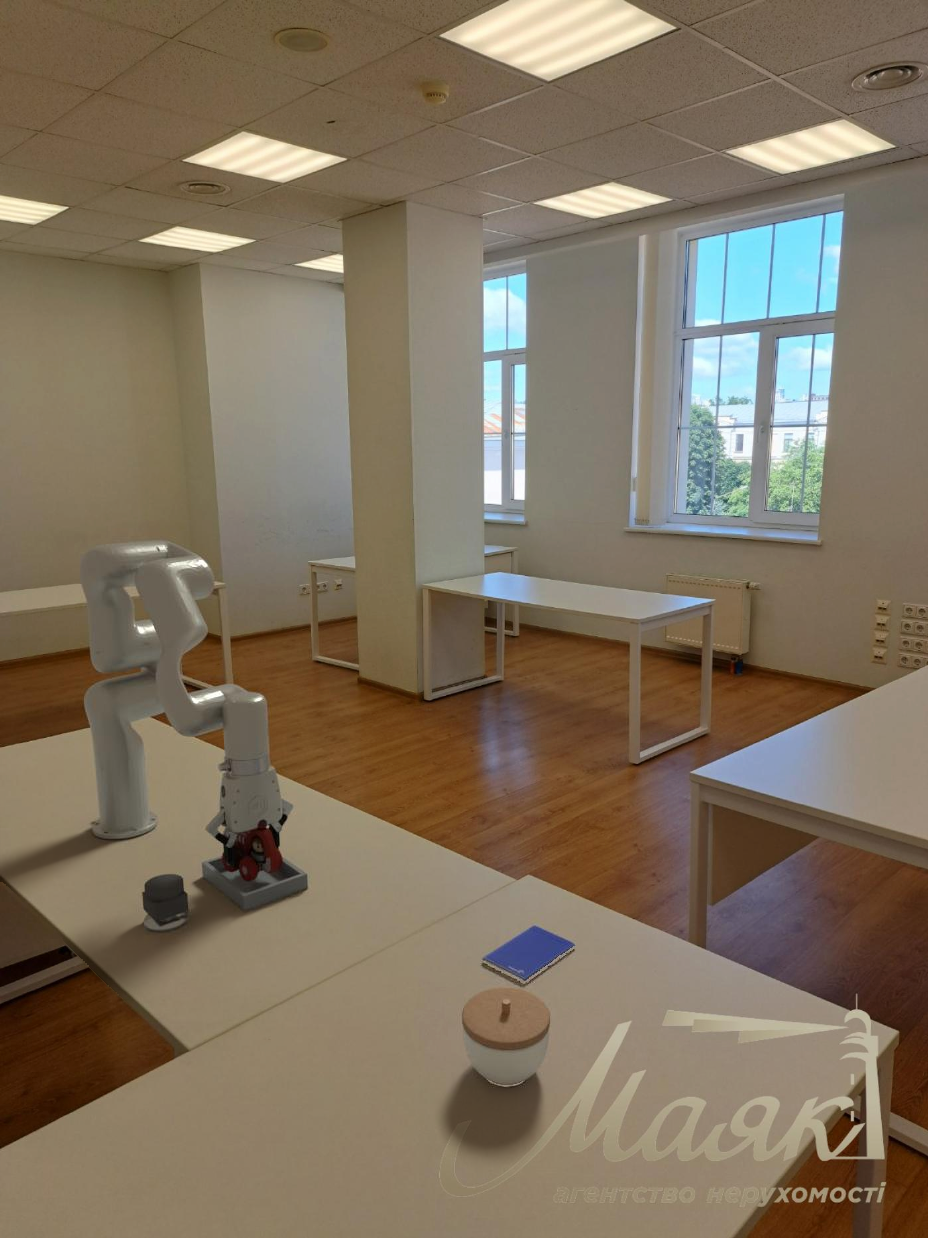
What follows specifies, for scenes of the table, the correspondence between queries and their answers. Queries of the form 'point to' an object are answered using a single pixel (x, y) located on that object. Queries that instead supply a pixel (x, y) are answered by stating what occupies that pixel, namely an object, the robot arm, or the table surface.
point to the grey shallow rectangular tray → (255, 883)
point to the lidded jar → (506, 1034)
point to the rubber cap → (165, 897)
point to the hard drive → (528, 952)
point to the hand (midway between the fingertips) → (252, 857)
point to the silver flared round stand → (166, 923)
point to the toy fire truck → (255, 853)
